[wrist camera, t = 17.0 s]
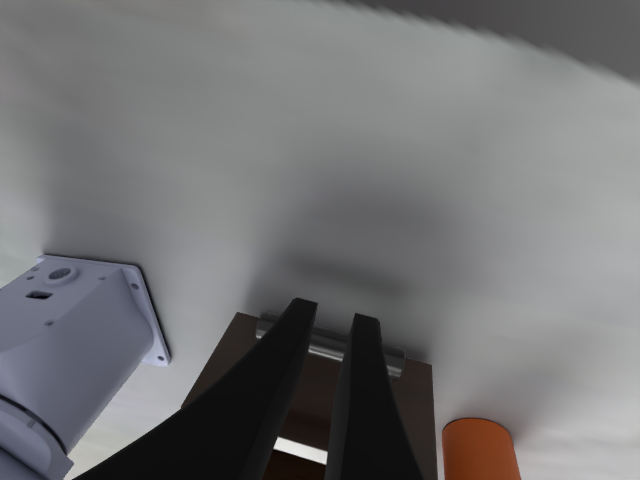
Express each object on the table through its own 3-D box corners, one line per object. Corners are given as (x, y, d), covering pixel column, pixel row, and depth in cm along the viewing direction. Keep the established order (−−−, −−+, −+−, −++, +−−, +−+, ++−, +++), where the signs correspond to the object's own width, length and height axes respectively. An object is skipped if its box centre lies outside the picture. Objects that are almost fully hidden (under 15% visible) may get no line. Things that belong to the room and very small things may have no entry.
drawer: (238, 257, 21) (173, 346, 15) (457, 312, 20) (474, 433, 14) (233, 427, 31) (192, 521, 25) (379, 472, 29) (371, 582, 24)
